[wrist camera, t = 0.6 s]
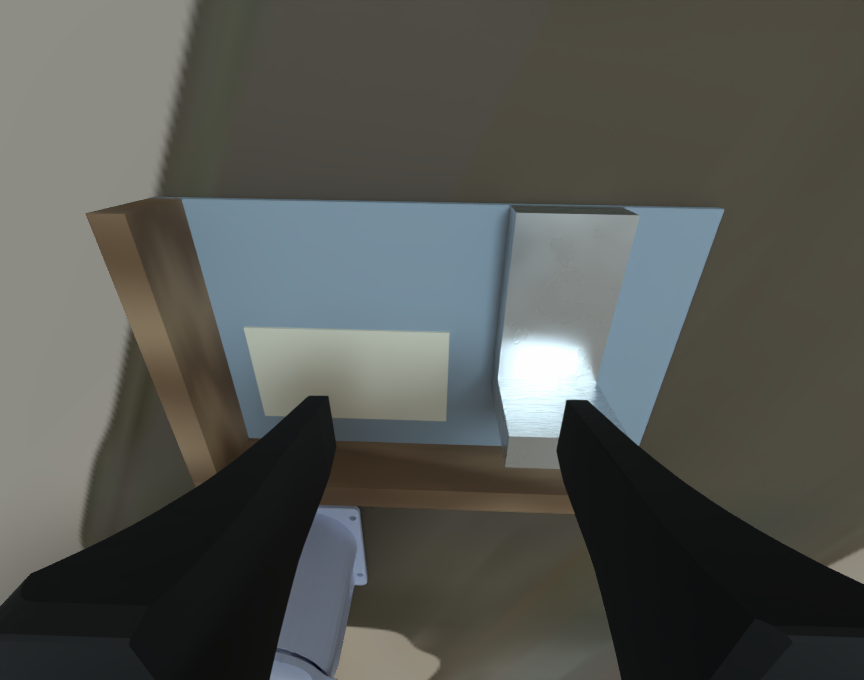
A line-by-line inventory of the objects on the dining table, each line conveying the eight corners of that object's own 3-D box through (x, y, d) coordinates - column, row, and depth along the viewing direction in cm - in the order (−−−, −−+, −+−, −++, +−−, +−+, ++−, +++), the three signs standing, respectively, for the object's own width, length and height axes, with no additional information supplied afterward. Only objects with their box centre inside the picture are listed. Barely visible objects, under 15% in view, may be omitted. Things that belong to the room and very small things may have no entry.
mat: (628, 463, 25) (632, 469, 25) (234, 450, 26) (230, 456, 25) (718, 207, 18) (726, 209, 17) (154, 196, 18) (146, 198, 18)
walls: (628, 463, 25) (657, 517, 22) (234, 450, 26) (201, 500, 22) (718, 207, 18) (786, 227, 14) (154, 196, 18) (85, 213, 15)
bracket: (578, 389, 22) (620, 471, 17) (490, 386, 22) (505, 467, 17) (622, 207, 17) (698, 242, 12) (510, 205, 17) (537, 238, 12)
